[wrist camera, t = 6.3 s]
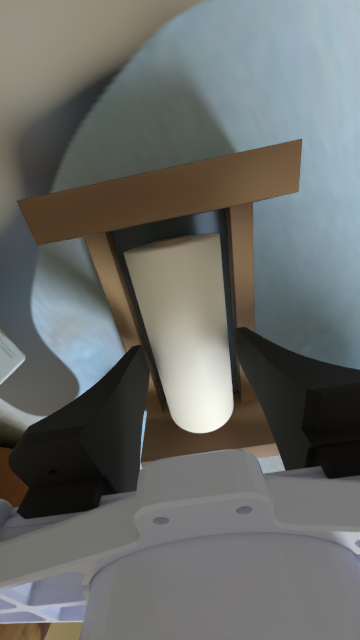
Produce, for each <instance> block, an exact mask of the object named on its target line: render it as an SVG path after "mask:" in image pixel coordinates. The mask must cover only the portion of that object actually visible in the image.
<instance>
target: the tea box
mask: <svg viewBox="0 0 360 640" xmlns="http://www.w3.org/2000/svg"><path fill="white" fill-rule="evenodd" d="M24 361H25V355H24V354H23V352H22V351H21V350H20V349H19V348H18V347H17V346H16V345H15V344H14V343H13V342H12V341H11V340H10V338H9V337H8V336H7V335H6V334H5V333H4V332H3V331H2V330H1V329H0V384H1V383H2V382H4V381H5V379H6V378H8V377H9V376H10V375H11V374H12V373H13V372H14V371H15V370H16V369H17V368H18V366H20V365H21V364H22V363H23V362H24Z"/></svg>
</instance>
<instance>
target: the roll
mask: <svg viewBox="0 0 360 640" xmlns="http://www.w3.org/2000/svg"><path fill="white" fill-rule="evenodd" d="M124 257H125V260H126V263H127V267H128V270H129V274H130V277H131V280H132V284H133V287H134V291H135V294H136V298H137V301H138V304H139V308H140V311H141V315H142V318H143V321H144V325H145V328H146V332H147V335H148V338H149V342H150V345H151V349H152V352H153V355H154V359H155V362H156V366H157V369H158V372H159V376H160V379H161V383H162V386H163V390H164V393H165V396H166V400H167V403H168V407H169V410H170V413H171V416H172V419H173V420H174V422H175V423H176V424H177V425H178V426H179V427H181V428H182V429H184V430H186V431H189V432H193V433H207V432H211V431H214V430H216V429H218V428H220V427H221V426H223V425H224V424H225V423H226V422H227V421H228V420H229V418H230V417H231V415H232V412H233V407H234V403H233V391H232V379H231V367H230V355H229V342H228V330H227V318H226V306H225V294H224V282H223V270H222V258H221V246H220V234H216V233H211V234H200V235H193V236H191V235H182V236H176V237H170V238H165V239H161V240H157V241H153V242H151V243H150V244H147V245H144V246H140V247H137V248H133V249H130V250H128V251H126V252H124Z"/></svg>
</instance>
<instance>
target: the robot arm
mask: <svg viewBox="0 0 360 640" xmlns="http://www.w3.org/2000/svg"><path fill="white" fill-rule="evenodd" d="M235 337H236V352H237V357H238V360H239V363H240V365H241V368H242V370H243V372H244V374H245V376H246V378H247V379H248V381H249V383H250V385H251V387H252V389H253V391H254V392H255V394H256V396H257V398H258V400H259V402H260V404H261V407H262V409H263V412H264V414H265V417H266V419H267V422H268V424H269V427H270V429H271V432H272V434H273V437H274V440H275V442H276V445H277V448H278V451H279V453H280V456H281V459H282V461H283V464H284V467H285V470H286V471H281V472H273V473H266V474H263V472H262V470H261V467H260V464H259V462H258V460H257V458H256V456H255V455H253V454H251V453H249V452H246V451H244V450H242V449H225V450H218V451H211V452H204V453H197V454H190V455H183V456H176V457H169V458H162V459H158V460H155V461H152V462H149V463H148V464H147V465H146V466H145V467H144V468H143V469H142V470H141V471H140V450H141V434H142V422H143V415H144V409H145V404H146V399H147V393H148V387H149V378H150V368H149V365H148V362H147V359H146V356H145V353H144V350H143V347H142V345H136V346H132V347H131V348H130V349H129V350H128V351H127V353H126V354H125V355H124V356H123V357H122V358H121V359H120V360H119V362H118V363H117V364H116V365H115V366H114V367H113V368H112V369H111V370H110V371H109V372H108V373H107V374H106V375H105V376H104V377H103V378H102V379H101V380H100V381H98V382H97V383H96V384H95V385H94V386H92V387H91V388H90V389H89V390H87V391H86V392H85V393H83V394H82V395H81V396H79V397H78V398H76V399H75V400H74V401H72V402H71V403H69V404H68V405H66V406H65V407H63V408H61V409H60V410H58V411H56V412H55V413H53V414H51V415H49V416H48V417H46V418H44V419H42V420H40V421H38V422H36V423H35V424H33V425H31V426H29V427H28V429H27V430H26V431H25V433H24V434H23V436H22V437H21V439H20V440H19V441H18V443H17V444H16V446H15V447H14V449H13V450H12V451H11V453H10V454H9V457H8V463H9V467H10V468H11V470H12V471H13V472H14V473H15V474H16V475H17V476H18V477H19V478H20V479H21V480H22V481H23V482H24V483H25V484H26V485H27V486H28V487H29V489H28V491H27V493H26V495H25V497H24V498H23V500H22V502H21V504H20V506H19V507H15V508H12V506H11V504H10V503H9V502H7V501H6V500H4V499H0V624H10V623H49V622H83V624H82V629H81V633H80V638H79V640H360V370H357V369H352V368H346V367H342V366H337V365H333V364H329V363H325V362H321V361H318V360H315V359H311V358H308V357H305V356H302V355H299V354H297V353H294V352H292V351H289V350H287V349H285V348H282V347H280V346H278V345H276V344H274V343H272V342H270V341H269V340H267V339H265V338H263V337H261V336H260V335H258V334H256V333H255V332H253V331H251V330H250V329H248V328H246V327H240V328H235Z"/></svg>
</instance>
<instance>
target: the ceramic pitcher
mask: <svg viewBox="0 0 360 640" xmlns="http://www.w3.org/2000/svg"><path fill="white" fill-rule="evenodd" d="M12 450H13V449H8V448H2V447H0V499H4V500H6V501H7V502H9V503H10V504H11V506H12V508H15V507H19V506H20V504H21V502H22V500H23V498H24V497H25V495H26V493H27V491H28V489H29V487H28V486H27V485H26V484H25V483H24V482H23V481H22V480H21V479H20V478H19V477H18V476H17V475H16V474H15V473H14V472H13V471H12V470H11V468H10V467H9V463H8V457H9V454H10V453H11V451H12ZM50 624H51V622H49V623H10V624H0V640H44V638H45V636H46V634H47V631H48V629H49V626H50Z"/></svg>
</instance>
